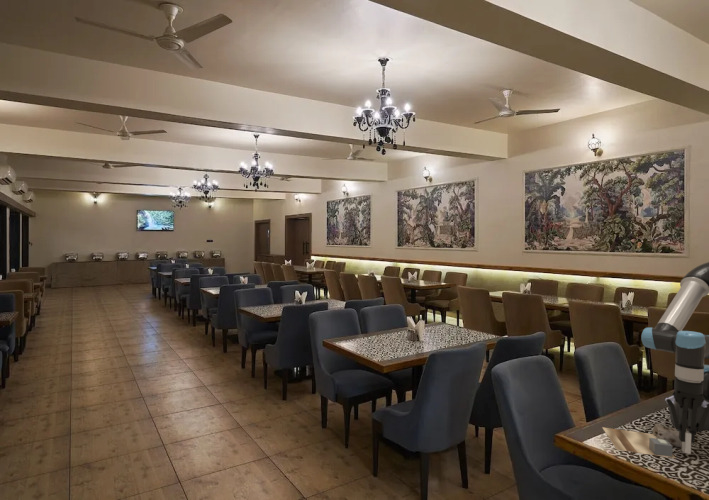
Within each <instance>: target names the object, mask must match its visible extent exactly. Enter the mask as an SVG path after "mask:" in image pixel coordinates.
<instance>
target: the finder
mask: <svg viewBox="0 0 709 500" xmlns="http://www.w3.org/2000/svg"><path fill="white" fill-rule="evenodd" d="M673 448H674V446H672V445H671V444H670V443H669V442H668V441H667V440H663V439H655V438H649V449H650V450H651V451H652V452H653V453H654V454H655V455H654V456H657V455H662V456H661V457H663V456H669V457H668V458H670V457H672V454H673Z"/></svg>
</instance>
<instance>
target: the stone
mask: <svg viewBox="0 0 709 500" xmlns="http://www.w3.org/2000/svg"><path fill="white" fill-rule="evenodd" d="M651 434H653V435H655V436H656V437H657V439H663V440H667V441H668V442H669V443H670V444H671V445H672V446H673V447H675V448H680V449H682V442H681V441H680V439H679V430H677V429H676V428H674V427H670V426H665V425H662V424H659V423H655V424H654V426H653V430H652V433H651Z"/></svg>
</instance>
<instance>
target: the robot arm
mask: <svg viewBox="0 0 709 500" xmlns="http://www.w3.org/2000/svg"><path fill="white" fill-rule="evenodd" d="M679 285H680V288H679V290H678V291H677V292H676V294H675V296H674V297H673V299H672V300H671V302H669V303H670V304H669V305H668V306H667V308H666V310H665V311H664V313H663V314H662V315H661V317H660V319H659V321H658V322H657V323H656V325H655V327H645V328H644V329H643V330H642V333H641V342H642V345H643V346H644V347H645V348H649V349H652V350H655V351H663V352H667V353H674V354H675V364H674V366H675V367H674V376H675V378H674V383H673V384H674V386H673V389H674V391H673V393H672V395H671V396H669V397H667V396H666V397H664V401H665V403H666V404H667V408H668V412H669V416H670V420H671V425H672V428H674V429H677V430H679V439H680V441H681V442H682V448H681V450H682V451H683V453H684V454H689V455H691V454H692V444H695V438H696V437H695V436H696V435H697V433H702V432H703V430H706V431H709V364H705V360H706V359H709V334H703V333H702V332H699V331H698V332H697V331H690V330H683V329H684V328H685V327H686V325H687V323H688V321H689V320H690V318H691V317H692V315H693V314H694V312H695V310H696V308H698V305H699V304H700V302H701V300H702V299H703V297H706V296H707V295H709V261H708V262H707V261H706V262H704V263H702V264H700V265H697V266H696V267H694V268H692V269H691V270H690V271H688V272H687V273H686V274H685V275H684V276H683V278H682V279H681V280H680V284H679Z"/></svg>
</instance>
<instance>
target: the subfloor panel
mask: <svg viewBox="0 0 709 500" xmlns="http://www.w3.org/2000/svg"><path fill="white" fill-rule="evenodd" d="M601 429H603V432H605V435H606V436H607V438H608V439H609V440H610V441H611V443H612V445H613V446H614V448H615V449H616V451H624V452H630V453H636V454H637V453H638V454H645V455H652V456H657V457H663V458H664V457H665V458H670V459H671V458H673V459H677V457H676V455H674V454H673V453H672V457H669V456H662V455H655V454H654V453H653V452H652V451H651V450H650V449H649V438H655V439H657V436H656V435H653V434H652V433H649V432H648V433H647V432H640V431H634V430H627V429H626V430H625V429H617V428H611V427H603V426H602V427H601Z"/></svg>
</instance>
